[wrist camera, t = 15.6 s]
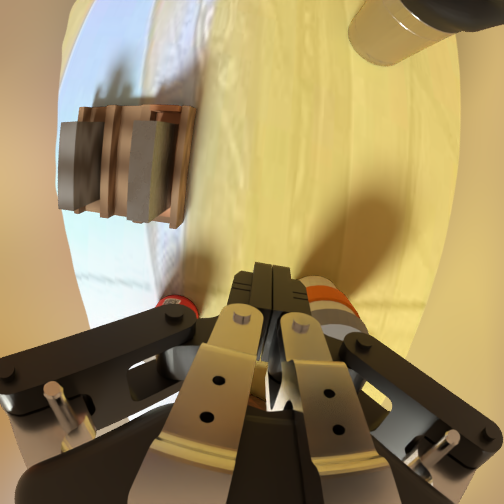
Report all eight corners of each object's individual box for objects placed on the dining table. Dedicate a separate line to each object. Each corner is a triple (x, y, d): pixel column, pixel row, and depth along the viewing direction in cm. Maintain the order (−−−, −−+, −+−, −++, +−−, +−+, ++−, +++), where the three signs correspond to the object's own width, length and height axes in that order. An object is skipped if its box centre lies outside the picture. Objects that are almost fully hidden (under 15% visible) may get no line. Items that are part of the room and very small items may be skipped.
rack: (91, 108, 36) (54, 105, 27) (196, 108, 36) (174, 99, 27) (85, 207, 42) (51, 224, 33) (183, 222, 42) (160, 244, 33)
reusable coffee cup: (302, 250, 43) (316, 303, 29) (363, 288, 44) (393, 346, 30) (259, 310, 47) (253, 375, 33) (318, 340, 49) (330, 404, 35)
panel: (159, 123, 35) (133, 120, 28) (179, 124, 35) (157, 120, 28) (151, 204, 40) (126, 219, 32) (170, 207, 40) (148, 223, 32)
